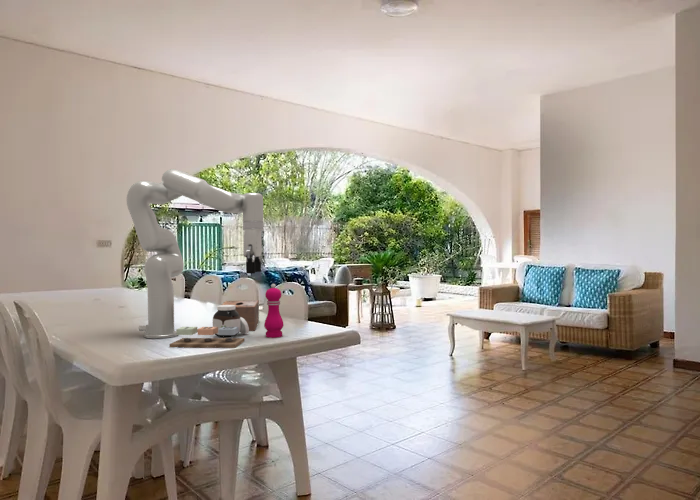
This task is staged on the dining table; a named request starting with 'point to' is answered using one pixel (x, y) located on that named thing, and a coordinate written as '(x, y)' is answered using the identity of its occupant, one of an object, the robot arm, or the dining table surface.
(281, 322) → the pepper mill
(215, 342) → the board
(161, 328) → the robot arm
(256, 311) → the tissue box cover
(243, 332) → the spread jar
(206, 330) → the tile
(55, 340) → the dining table surface
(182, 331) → the tile
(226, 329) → the tile
